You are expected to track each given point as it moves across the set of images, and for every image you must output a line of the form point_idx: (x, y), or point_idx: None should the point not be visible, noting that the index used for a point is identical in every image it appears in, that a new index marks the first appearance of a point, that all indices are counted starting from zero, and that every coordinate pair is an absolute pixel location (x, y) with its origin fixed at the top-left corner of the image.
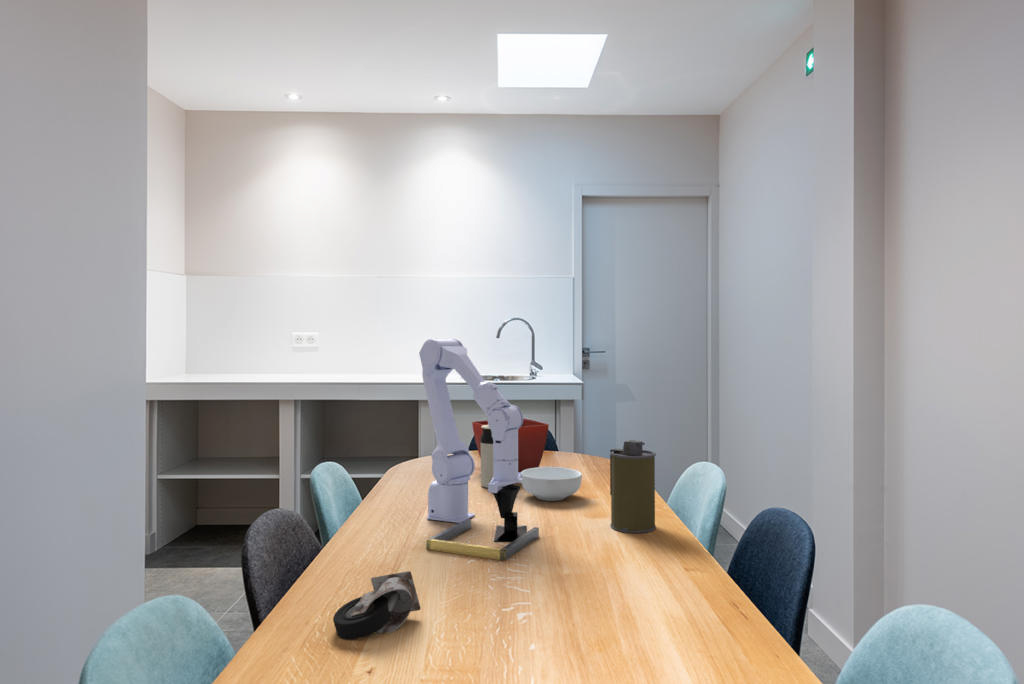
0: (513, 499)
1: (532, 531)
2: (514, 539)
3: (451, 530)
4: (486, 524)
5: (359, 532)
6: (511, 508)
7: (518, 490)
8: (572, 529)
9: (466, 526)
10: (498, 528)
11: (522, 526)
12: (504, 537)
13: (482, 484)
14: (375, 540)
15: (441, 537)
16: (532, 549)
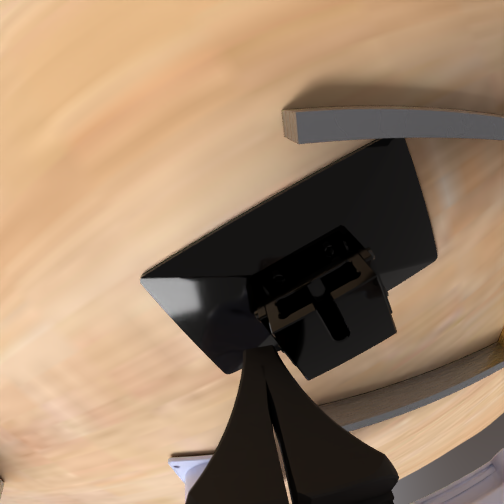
0: (268, 433)
1: (394, 111)
2: (407, 191)
3: (436, 390)
4: (228, 404)
5: (405, 470)
6: (268, 384)
7: (219, 491)
8: (42, 39)
9: (338, 412)
10: (278, 345)
11: (184, 279)
12: (403, 244)
13: (2, 485)
14: (447, 433)
15: (477, 367)
16: (464, 64)
